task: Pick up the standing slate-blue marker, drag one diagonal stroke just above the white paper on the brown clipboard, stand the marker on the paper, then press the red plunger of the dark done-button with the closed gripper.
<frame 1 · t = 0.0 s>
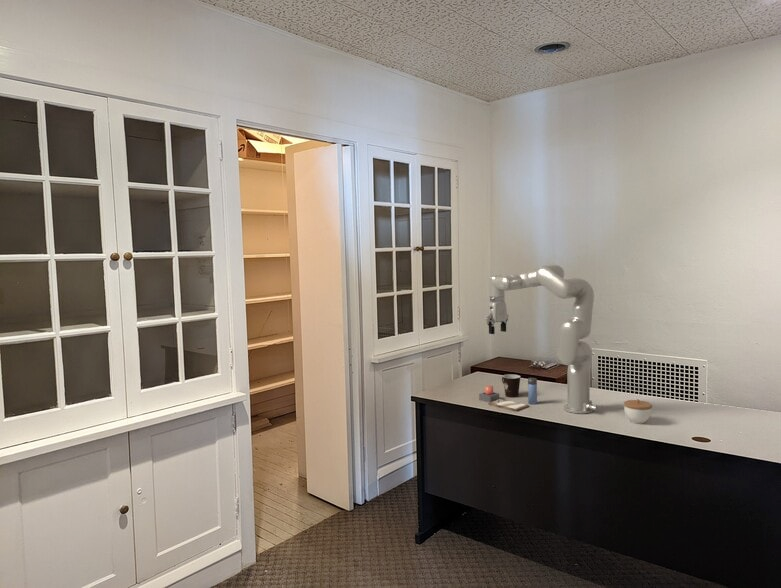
hand: (497, 332, 277), 31 cm above the table, fingers open, 9 cm apart
coffee mug: (511, 395, 274), on the table
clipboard: (508, 405, 256), on the table
button housing: (489, 399, 267), on the table
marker: (532, 403, 258), on the table
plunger: (489, 391, 266), point 4 cm above the table, slide at 0.0 cm
lidded jar: (637, 421, 228), on the table
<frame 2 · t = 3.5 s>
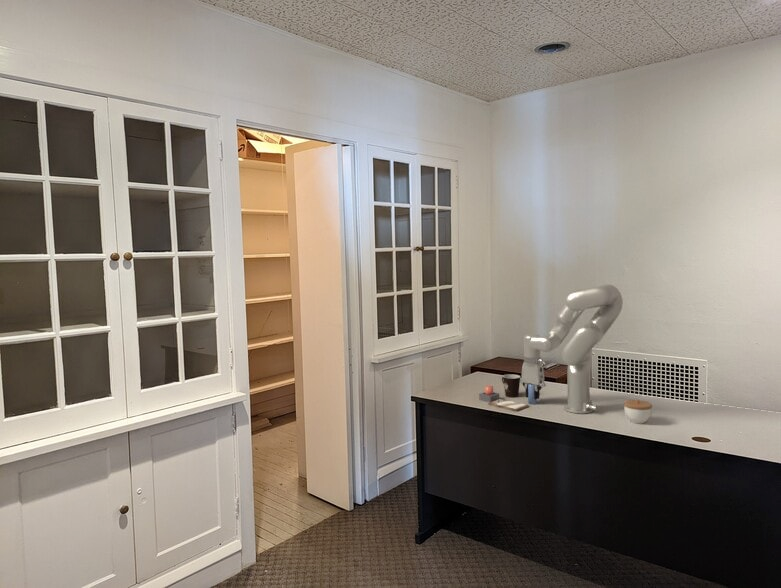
hand: (532, 397, 258), 3 cm above the table, fingers closed on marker, 4 cm apart
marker: (532, 403, 258), on the table, touching gripper
everything else where it was.
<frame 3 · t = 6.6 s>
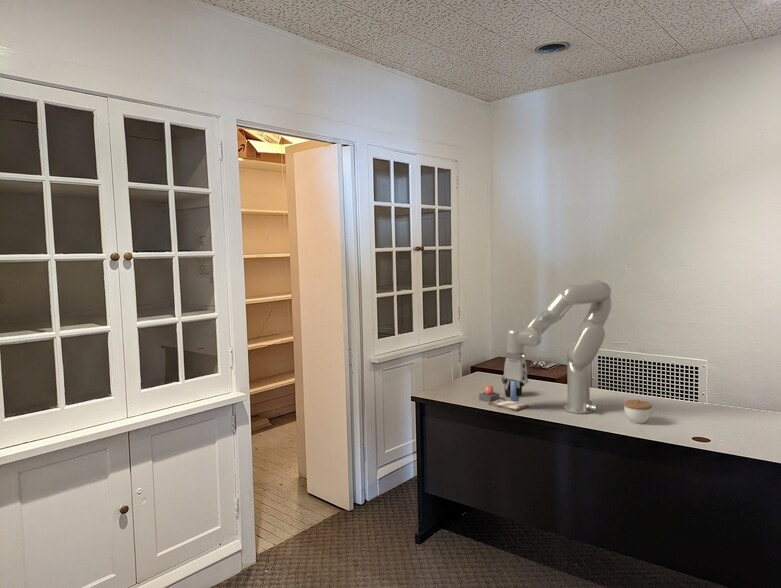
hand: (514, 394, 250), 7 cm above the table, fingers closed on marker, 3 cm apart
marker: (514, 400, 250), point 4 cm above the table, touching gripper
everything else where it was.
when the fingers open (4 cm above the table, at t = 9.9 s): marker stays where it is, resting on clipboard.
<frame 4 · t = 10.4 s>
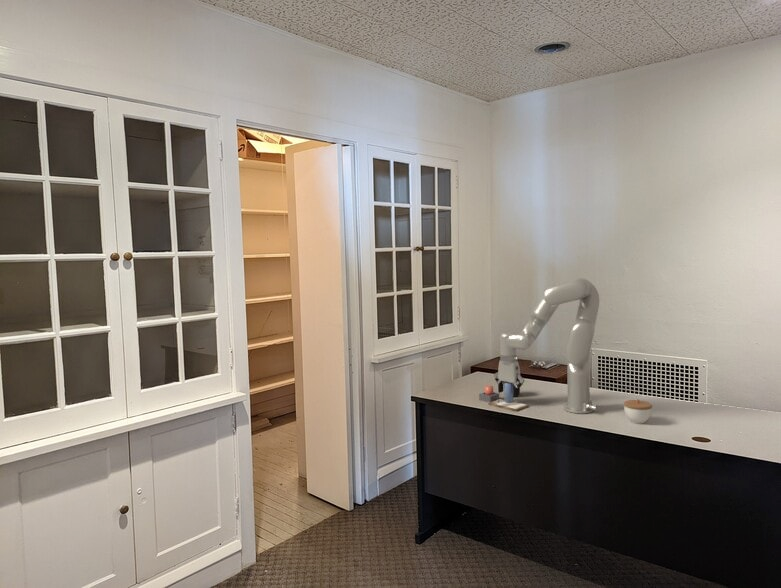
hand: (508, 393, 258), 5 cm above the table, fingers open, 9 cm apart
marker: (509, 401, 258), point 1 cm above the table, touching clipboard
everything else where it was.
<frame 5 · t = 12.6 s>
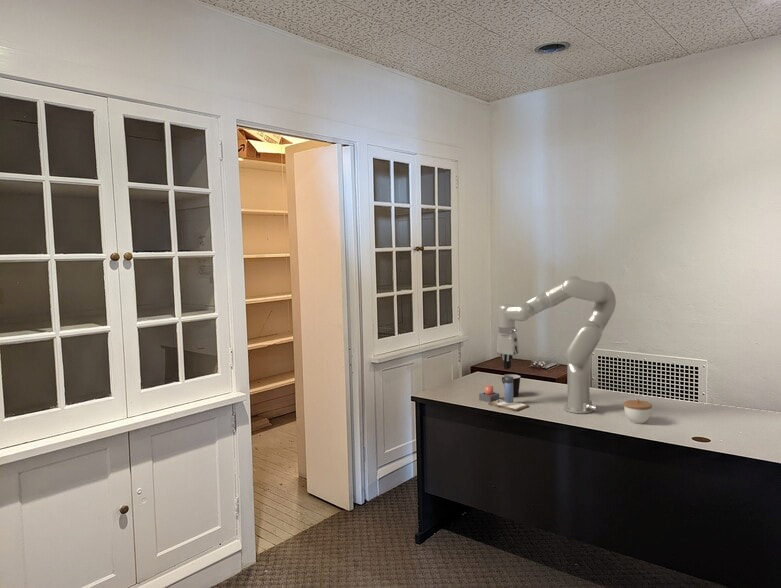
hand: (507, 368, 257), 17 cm above the table, fingers closed
nothing on the table moved.
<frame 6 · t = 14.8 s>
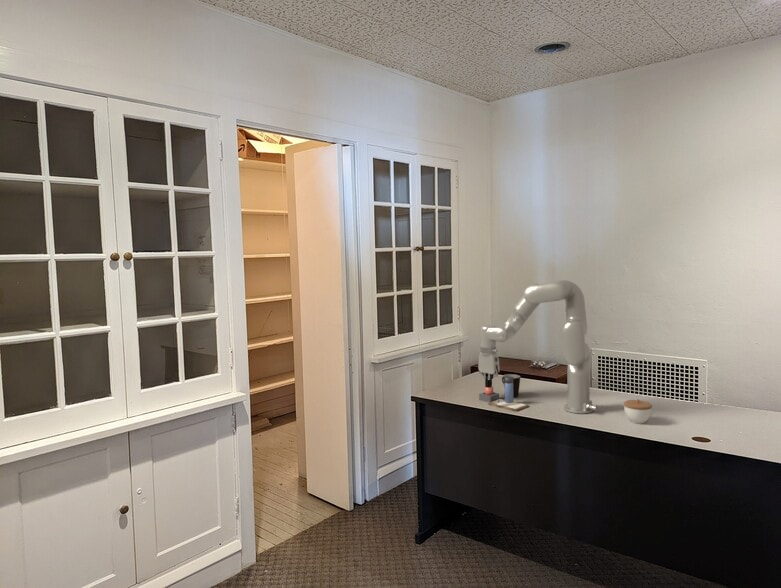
hand: (488, 386, 266), 6 cm above the table, fingers closed
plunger: (489, 391, 266), point 4 cm above the table, slide at 0.1 cm, touching gripper
everything else where it was.
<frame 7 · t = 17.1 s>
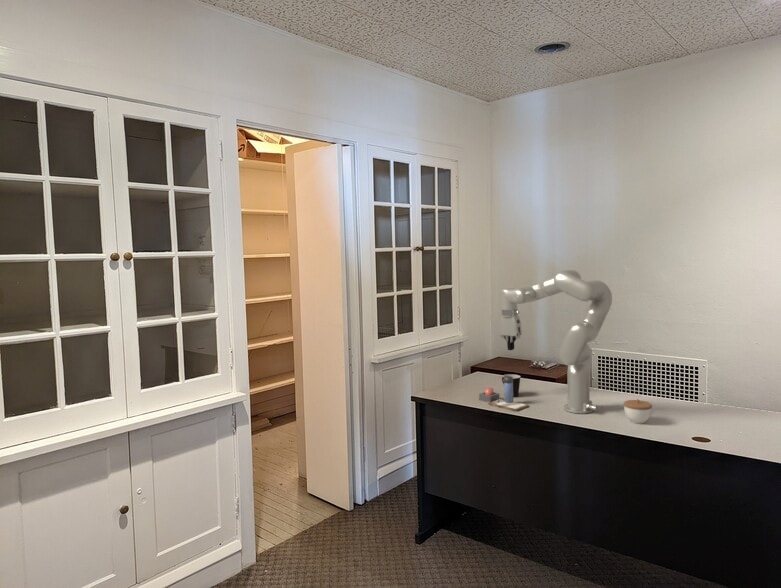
hand: (511, 349, 268), 24 cm above the table, fingers closed
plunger: (489, 394, 266), point 3 cm above the table, slide at 1.2 cm
everything else where it was.
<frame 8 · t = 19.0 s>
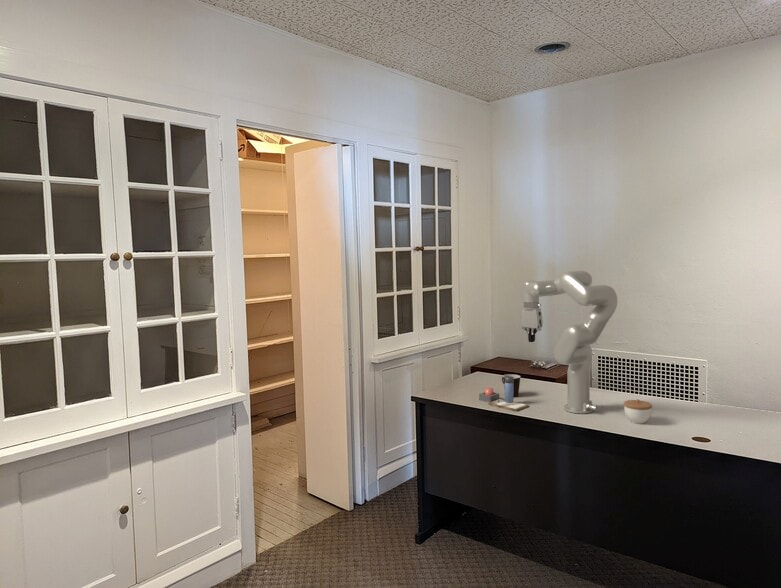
hand: (531, 341, 271), 27 cm above the table, fingers closed
nothing on the table moved.
at the end: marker inside the target area on the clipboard (2.9 cm from its centre), point 1.0 cm above the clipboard's base; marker tilted 1°; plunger slide at 1.2 cm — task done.
